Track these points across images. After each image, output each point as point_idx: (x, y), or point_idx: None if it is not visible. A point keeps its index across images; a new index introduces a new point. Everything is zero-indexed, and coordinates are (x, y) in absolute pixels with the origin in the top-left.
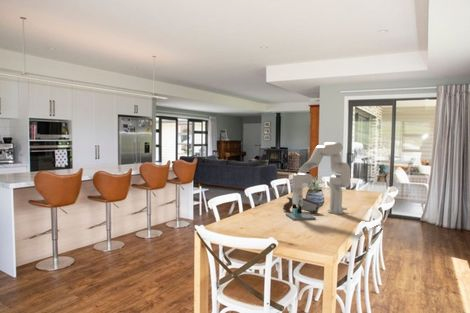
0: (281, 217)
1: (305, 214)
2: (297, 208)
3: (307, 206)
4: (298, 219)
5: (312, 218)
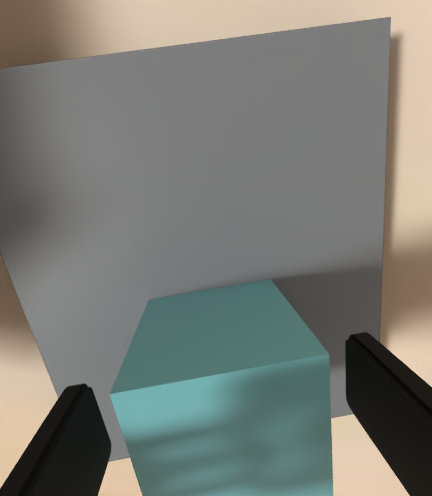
0: None
1: (122, 163)
2: (142, 431)
3: None
4: None
5: (377, 104)
